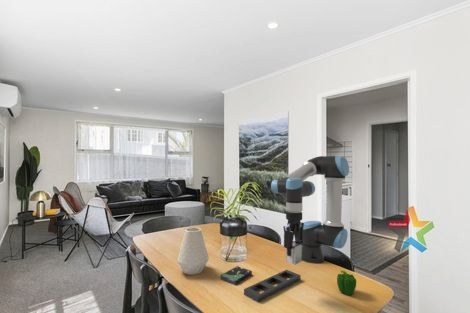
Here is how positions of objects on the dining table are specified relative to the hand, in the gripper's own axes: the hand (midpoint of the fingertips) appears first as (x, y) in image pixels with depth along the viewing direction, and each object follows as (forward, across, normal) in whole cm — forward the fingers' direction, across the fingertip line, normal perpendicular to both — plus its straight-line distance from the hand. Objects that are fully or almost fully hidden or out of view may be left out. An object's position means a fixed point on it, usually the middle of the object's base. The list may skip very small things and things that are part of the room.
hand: (293, 260), depth 122 cm
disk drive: (+16, +8, -30) cm, 35 cm away
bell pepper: (+15, -19, +16) cm, 30 cm away
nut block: (0, 0, 0) cm, 0 cm away
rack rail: (+15, +2, -10) cm, 18 cm away
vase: (+16, +21, -53) cm, 59 cm away
